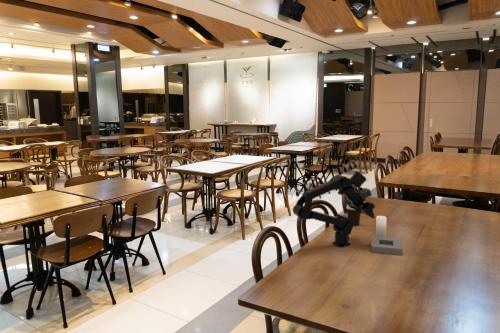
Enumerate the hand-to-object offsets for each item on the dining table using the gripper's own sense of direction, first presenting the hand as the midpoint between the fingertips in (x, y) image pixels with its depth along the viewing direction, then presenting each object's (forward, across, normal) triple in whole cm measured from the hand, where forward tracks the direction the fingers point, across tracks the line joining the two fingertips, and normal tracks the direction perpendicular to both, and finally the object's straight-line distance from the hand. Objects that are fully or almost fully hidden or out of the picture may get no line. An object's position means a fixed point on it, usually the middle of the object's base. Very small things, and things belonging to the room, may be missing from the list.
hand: (368, 215), depth 192 cm
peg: (+15, 0, +3) cm, 15 cm away
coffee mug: (+16, +27, +2) cm, 31 cm away
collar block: (+12, -12, +7) cm, 18 cm away
